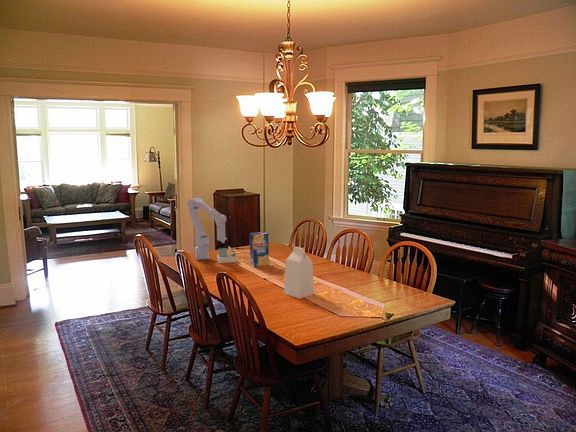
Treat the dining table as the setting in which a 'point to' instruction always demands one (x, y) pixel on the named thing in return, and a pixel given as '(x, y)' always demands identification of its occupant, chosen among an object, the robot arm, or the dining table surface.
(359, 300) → the dining table surface
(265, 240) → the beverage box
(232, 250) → the side flap
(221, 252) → the front flap
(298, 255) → the milk
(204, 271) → the dining table surface
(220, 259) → the carton
